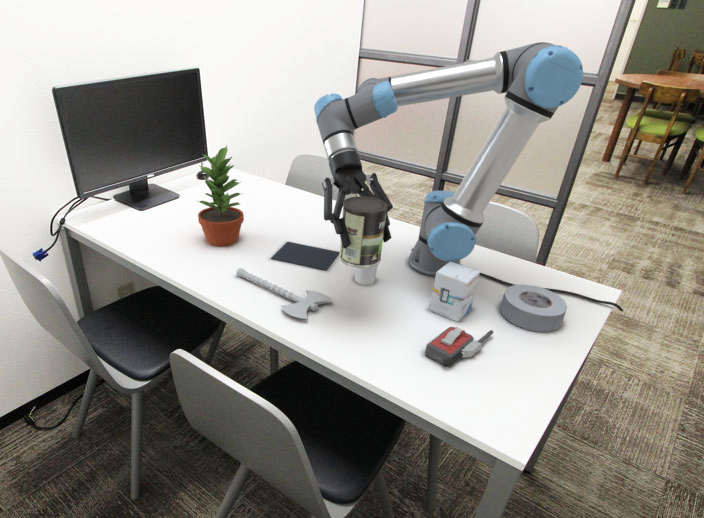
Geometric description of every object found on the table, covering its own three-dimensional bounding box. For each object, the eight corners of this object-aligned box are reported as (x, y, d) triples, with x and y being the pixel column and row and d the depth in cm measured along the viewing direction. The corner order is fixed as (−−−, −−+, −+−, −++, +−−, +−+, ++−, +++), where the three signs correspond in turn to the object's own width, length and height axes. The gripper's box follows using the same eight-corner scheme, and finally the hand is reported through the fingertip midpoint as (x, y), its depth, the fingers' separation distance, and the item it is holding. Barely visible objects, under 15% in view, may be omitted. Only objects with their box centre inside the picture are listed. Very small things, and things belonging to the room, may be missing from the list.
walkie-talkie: (453, 374, 109) (495, 337, 121) (457, 359, 107) (499, 322, 119) (419, 356, 114) (462, 322, 127) (422, 341, 112) (466, 308, 124)
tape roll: (570, 316, 131) (577, 300, 128) (546, 339, 122) (552, 322, 119) (515, 294, 140) (520, 278, 137) (488, 313, 131) (493, 297, 128)
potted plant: (191, 246, 158) (182, 152, 142) (210, 228, 171) (204, 139, 155) (235, 253, 155) (231, 157, 140) (251, 234, 168) (249, 144, 152)
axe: (221, 284, 139) (220, 276, 138) (255, 267, 148) (255, 259, 147) (303, 325, 123) (303, 317, 122) (336, 303, 132) (337, 296, 131)
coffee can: (381, 251, 125) (388, 198, 117) (379, 270, 116) (386, 214, 109) (341, 247, 126) (345, 193, 119) (335, 265, 118) (340, 209, 110)
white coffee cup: (379, 278, 145) (384, 247, 140) (370, 288, 140) (374, 256, 135) (359, 272, 148) (362, 241, 142) (349, 281, 143) (352, 250, 137)
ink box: (442, 297, 137) (450, 260, 131) (471, 309, 132) (481, 270, 126) (427, 310, 131) (435, 271, 125) (457, 322, 127) (467, 283, 120)
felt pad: (339, 253, 158) (339, 252, 158) (326, 270, 148) (326, 269, 147) (287, 242, 163) (287, 241, 163) (271, 259, 153) (271, 257, 153)
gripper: (377, 161, 127) (401, 242, 123) (295, 168, 120) (318, 255, 116) (390, 145, 120) (416, 230, 117) (304, 152, 113) (329, 244, 109)
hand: (367, 243), depth 116 cm, fingers closed on coffee can, 10 cm apart
